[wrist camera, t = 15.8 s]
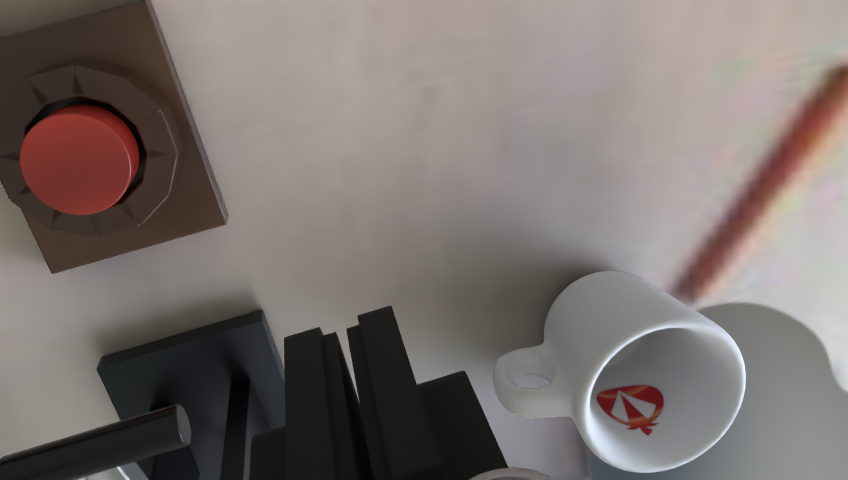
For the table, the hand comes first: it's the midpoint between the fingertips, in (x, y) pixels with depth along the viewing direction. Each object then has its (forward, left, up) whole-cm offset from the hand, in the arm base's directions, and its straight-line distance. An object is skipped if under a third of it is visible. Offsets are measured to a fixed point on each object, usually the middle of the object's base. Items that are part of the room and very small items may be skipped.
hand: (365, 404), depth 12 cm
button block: (-1, -9, -25) cm, 27 cm away
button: (-1, -9, -22) cm, 24 cm away
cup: (+15, +10, -25) cm, 31 cm away
